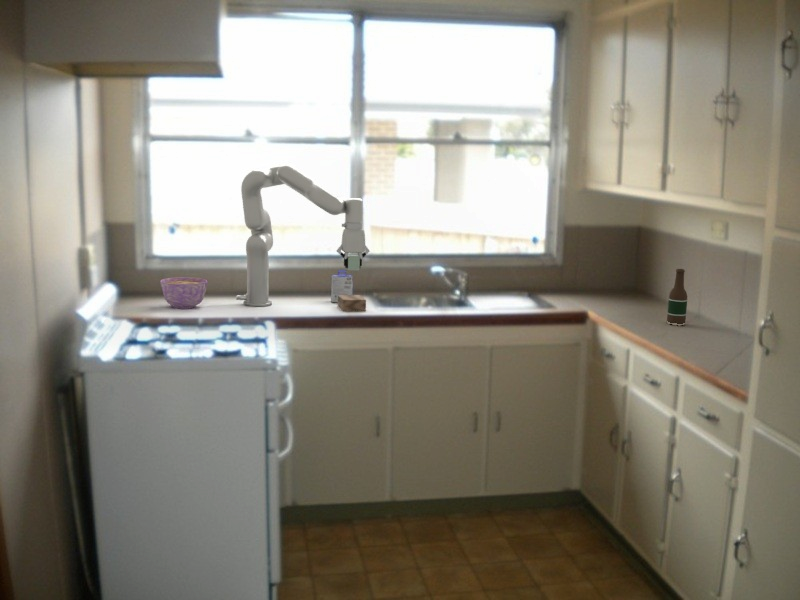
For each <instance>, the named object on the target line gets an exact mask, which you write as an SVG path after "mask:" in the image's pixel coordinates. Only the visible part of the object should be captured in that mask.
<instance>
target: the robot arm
mask: <svg viewBox="0 0 800 600" xmlns="http://www.w3.org/2000/svg"><path fill="white" fill-rule="evenodd" d="M281 185H286V186H288V188H291V189H292V190H294V191H295V192H296V193H299V195H301V196H303V197H305V199H307V200H308V201H310V202H311V203H313V204H314V205H315V206H317V207H318V208H320V209H321V210H323V212H325V213H328V214H330V215H332V216H338V215H340V214H345V215H344V216H345V219H344V223H341V227H342V228H344V229H343V230H342V238H341V244H340V245H339V247H337V249H336V253H337V254H339V255H340V256H341V257H342V258H343V267H344V268H345V269H346V268H348V259H347V256H348V255H349V254H350V253H352V254H356V253H357V255H358V256H359V257H360V269H361V267H363V266H362V265H363V258H364V257H366V255H368V254H369V253H370V252H371V251H370V249H369V248H368V246H367V245H366V234H365V230H364V229H363V213H364V212H363V210H364V209H363V208H364V207H363V206H364V201H363V199H362V198H359V197H348V198H347V197H341V196H335V195H333V194H331V193H330V192H329V191H326V190H325V189H324V188H323V187H322V186H320V184H319V183H318V182H317V181H316V179H314V178H312V177H311V176H309V175H307V174H306V173H304V172H303V171H302V170H300V169H299V168H298V167H297V166H296V165H295V164H294V163H289V162H288V163H283V164H281V165H280V164H279V165H276V166H270V167H263V168H262V167H261V168H256V169H254V170H251V171H250V172H249V173H247V174H246V176H245V177H244V178H243V181H242V182H241V187H240V189H241V199H242V209H243V215H244V223H245V226H246V227H247V228H248V229H249V230H250V234H251V235H250V236H249V237H248V239H247V240H246V244H245V252H246V293H245V294H243V295H236V300H238V301H242V302H243V305H245V306H249V307H267V306H271V305H272V304H273V301H272V300H269V292H270V291H269V290H270V289H269V286H270V284H269V283H270V282H269V275H270V274H269V272H270V269H269V267H270V265H269V264H270V261H269V252H270V250H271V249H272V248H273V245H274V238H273V237H274V236H273V229H272V222H271V217H270V213H269V212H268V211H267V210H266V209H265V208H264V207H263V206H264V205H263V198H262V194H261V192H262V191H261V190H262V189H265V188H270V187H277V186H281Z"/></svg>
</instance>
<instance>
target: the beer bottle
mask: <svg viewBox="0 0 800 600" xmlns="http://www.w3.org/2000/svg"><path fill="white" fill-rule="evenodd" d="M675 272H676V274H675V278H674V279H675V280H674V281H675V282H674V284H673V288H672V289H671V290H670V292H669V295H668V303H667V317H666V322H667V321H668V322H670V323H677V324H683V323H685V324H686V319H687V309H688V294H687V291H686V289H685V285H684V284H685V273H686V271H685V269H684V268H676V270H675Z"/></svg>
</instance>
